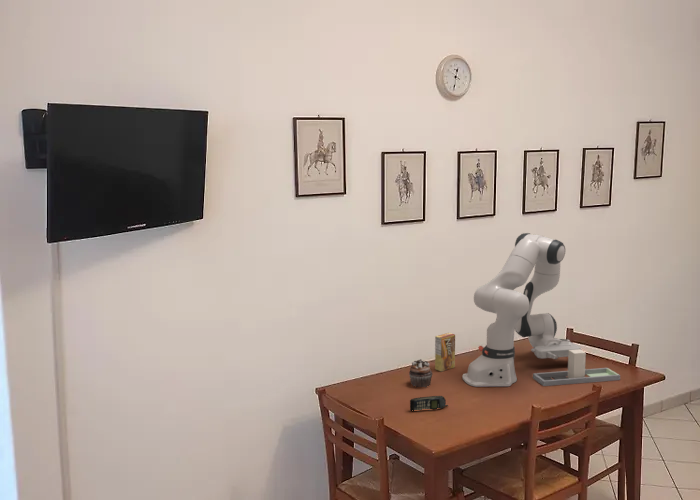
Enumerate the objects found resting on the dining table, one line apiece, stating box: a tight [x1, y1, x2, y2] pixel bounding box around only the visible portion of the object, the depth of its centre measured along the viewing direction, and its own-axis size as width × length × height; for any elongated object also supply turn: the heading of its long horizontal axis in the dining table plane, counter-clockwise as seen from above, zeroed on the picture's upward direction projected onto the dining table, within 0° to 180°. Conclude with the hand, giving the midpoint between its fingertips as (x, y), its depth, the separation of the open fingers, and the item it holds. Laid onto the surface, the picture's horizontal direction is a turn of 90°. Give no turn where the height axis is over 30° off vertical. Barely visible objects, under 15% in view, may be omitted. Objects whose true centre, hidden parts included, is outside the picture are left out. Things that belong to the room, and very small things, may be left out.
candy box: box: [434, 332, 456, 372], centre depth 293 cm, size 9×4×15 cm, turn 129°
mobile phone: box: [409, 395, 449, 412], centre depth 248 cm, size 5×3×15 cm
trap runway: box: [532, 367, 621, 387], centre depth 278 cm, size 34×10×2 cm, turn 100°
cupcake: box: [408, 359, 433, 388], centre depth 274 cm, size 10×10×10 cm
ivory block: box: [567, 349, 587, 379], centre depth 277 cm, size 5×5×12 cm
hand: (566, 356), depth 286 cm, fingers open, 8 cm apart
